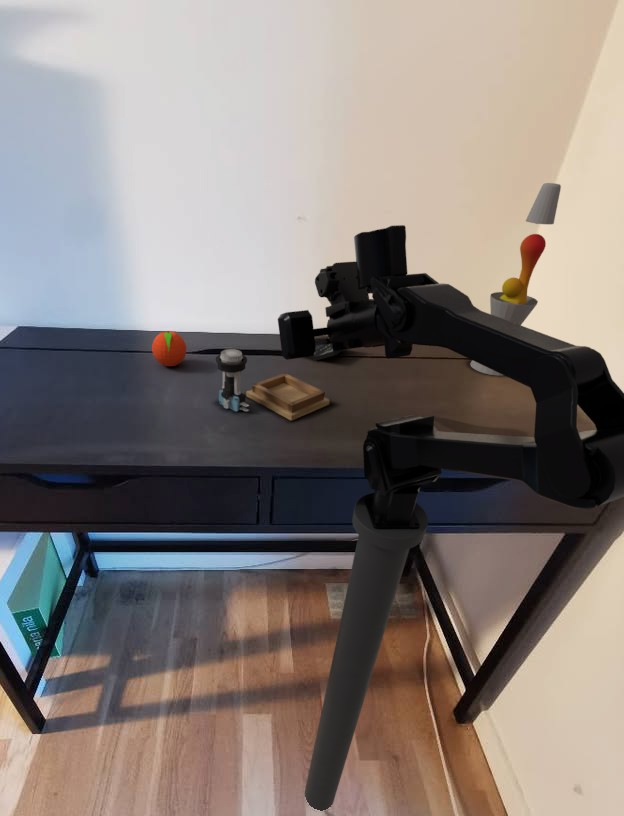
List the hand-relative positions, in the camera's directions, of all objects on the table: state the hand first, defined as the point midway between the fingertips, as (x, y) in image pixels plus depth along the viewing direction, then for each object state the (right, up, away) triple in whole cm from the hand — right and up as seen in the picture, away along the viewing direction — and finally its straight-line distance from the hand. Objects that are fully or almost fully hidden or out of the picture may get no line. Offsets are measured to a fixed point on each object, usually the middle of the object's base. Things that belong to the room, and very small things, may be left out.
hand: (312, 335), depth 78 cm
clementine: (-27, 0, +24) cm, 36 cm away
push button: (-13, -10, +10) cm, 19 cm away
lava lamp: (+43, +2, +30) cm, 52 cm away
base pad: (-3, -8, +13) cm, 16 cm away
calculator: (+5, +6, +33) cm, 34 cm away
